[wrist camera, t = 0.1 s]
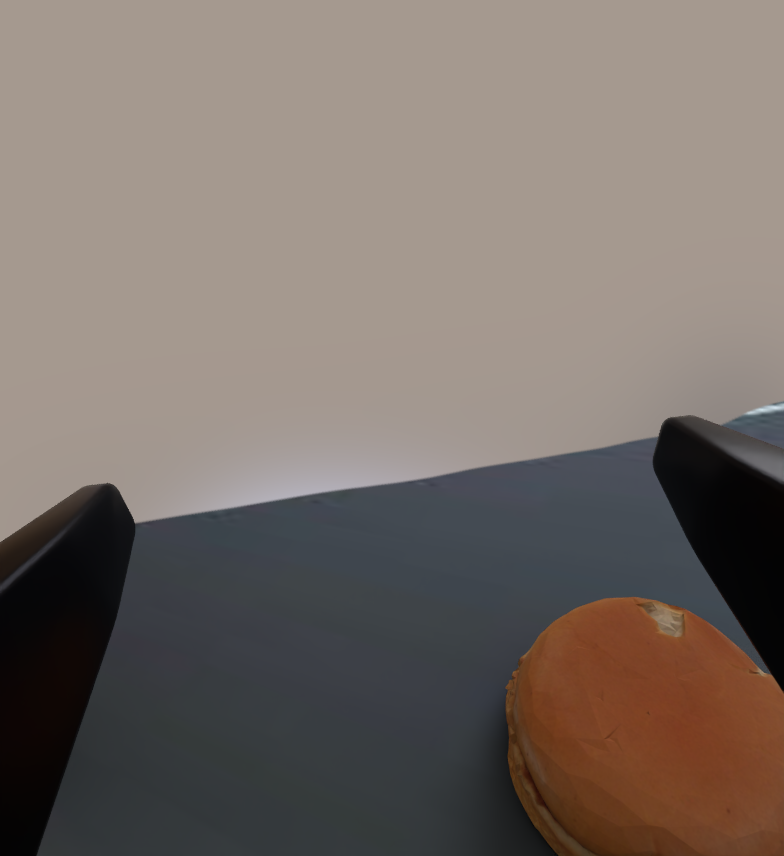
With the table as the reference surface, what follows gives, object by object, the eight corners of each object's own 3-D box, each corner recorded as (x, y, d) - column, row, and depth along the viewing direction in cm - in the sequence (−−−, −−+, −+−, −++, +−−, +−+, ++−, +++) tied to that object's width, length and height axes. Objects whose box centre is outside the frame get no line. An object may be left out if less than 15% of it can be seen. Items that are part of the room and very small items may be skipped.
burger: (518, 908, 16) (529, 857, 13) (498, 639, 23) (503, 574, 21) (866, 951, 14) (956, 905, 12) (724, 651, 22) (759, 583, 19)
